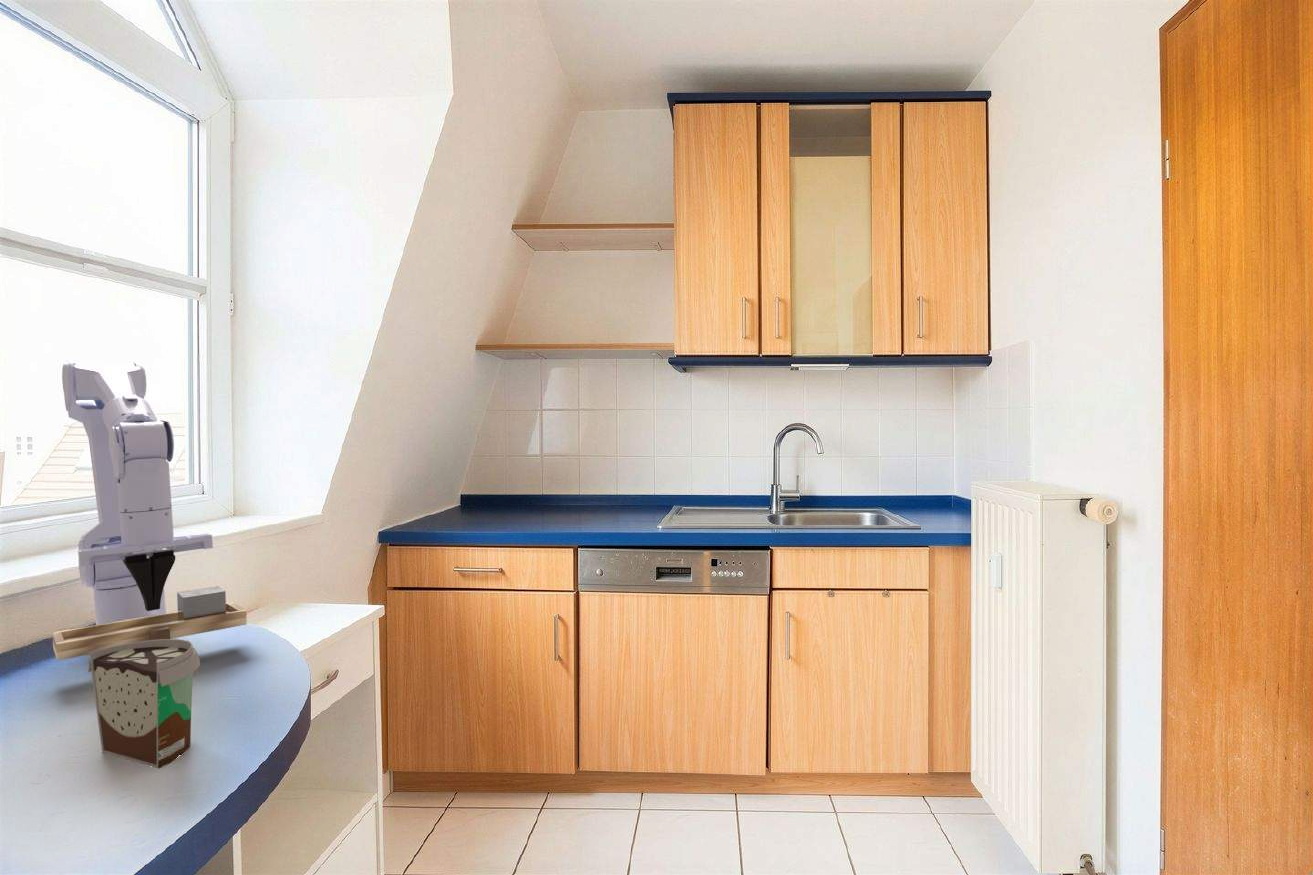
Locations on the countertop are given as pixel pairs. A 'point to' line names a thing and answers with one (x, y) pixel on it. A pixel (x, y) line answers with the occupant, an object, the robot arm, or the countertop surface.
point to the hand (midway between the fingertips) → (152, 608)
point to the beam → (140, 631)
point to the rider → (201, 603)
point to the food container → (144, 699)
